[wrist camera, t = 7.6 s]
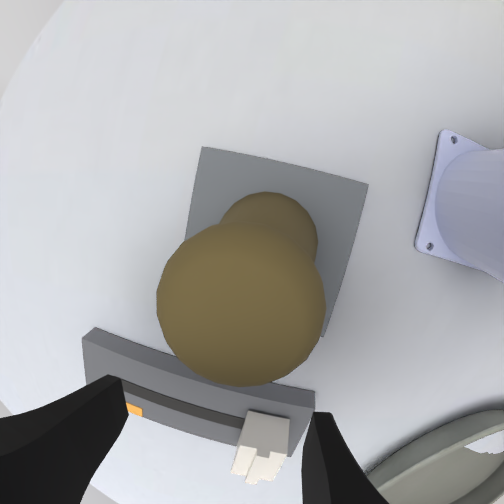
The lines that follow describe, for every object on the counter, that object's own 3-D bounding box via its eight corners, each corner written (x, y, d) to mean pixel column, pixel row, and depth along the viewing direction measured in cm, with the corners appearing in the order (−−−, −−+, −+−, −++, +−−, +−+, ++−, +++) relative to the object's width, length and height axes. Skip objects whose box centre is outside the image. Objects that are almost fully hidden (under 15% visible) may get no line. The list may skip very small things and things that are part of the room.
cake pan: (498, 484, 23) (506, 503, 19) (344, 533, 28) (344, 557, 23) (550, 360, 18) (572, 382, 14) (332, 439, 23) (335, 478, 18)
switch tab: (289, 419, 19) (286, 461, 15) (276, 448, 20) (271, 487, 16) (248, 410, 20) (238, 451, 16) (238, 440, 20) (229, 479, 17)
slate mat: (366, 184, 17) (368, 184, 17) (322, 333, 20) (323, 337, 19) (204, 147, 18) (201, 146, 18) (178, 297, 21) (176, 300, 20)
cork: (300, 302, 19) (301, 434, 8) (207, 274, 19) (120, 376, 9) (331, 208, 17) (383, 257, 7) (230, 179, 18) (142, 187, 7)
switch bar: (314, 391, 21) (315, 409, 19) (291, 440, 23) (290, 457, 21) (94, 327, 22) (81, 338, 20) (98, 380, 24) (87, 393, 22)
